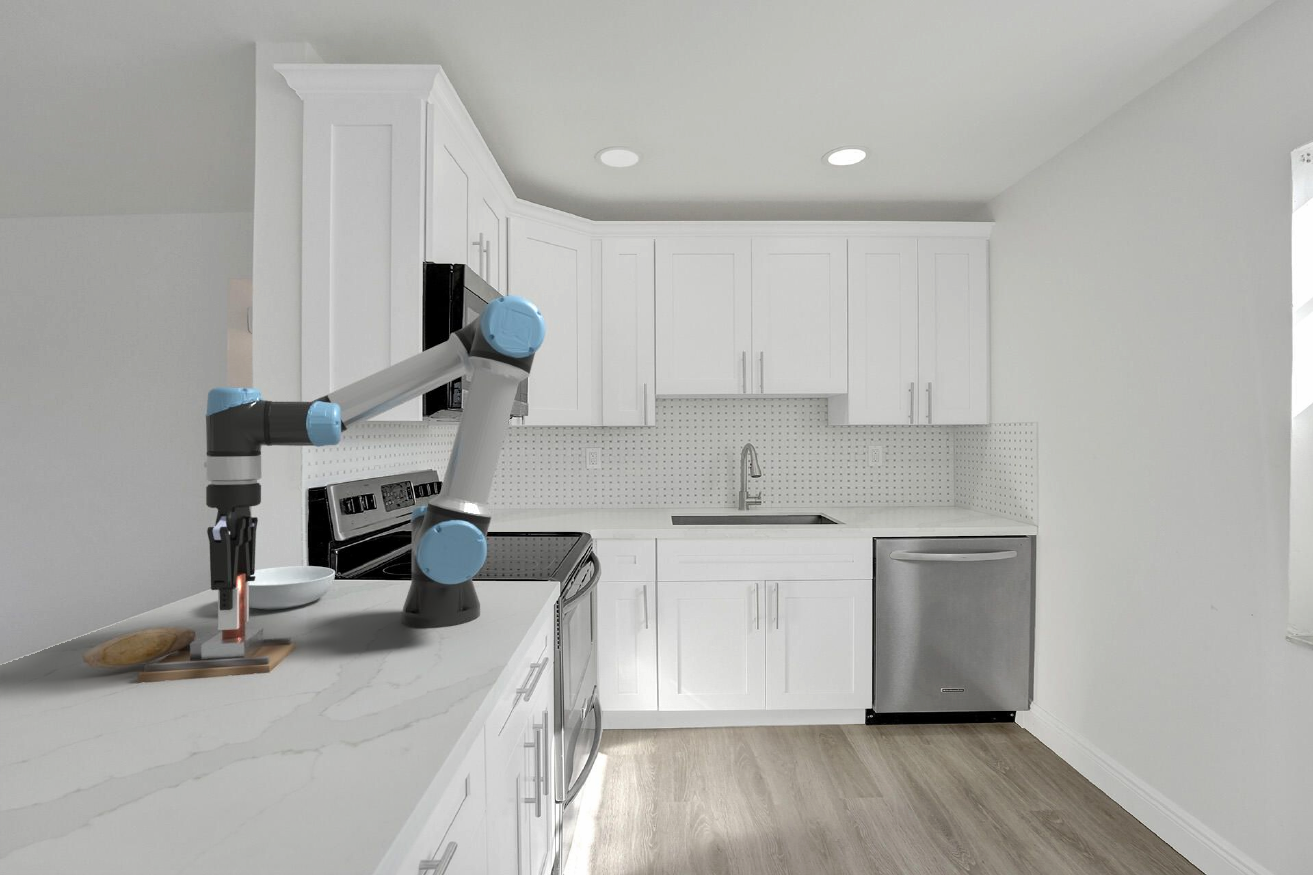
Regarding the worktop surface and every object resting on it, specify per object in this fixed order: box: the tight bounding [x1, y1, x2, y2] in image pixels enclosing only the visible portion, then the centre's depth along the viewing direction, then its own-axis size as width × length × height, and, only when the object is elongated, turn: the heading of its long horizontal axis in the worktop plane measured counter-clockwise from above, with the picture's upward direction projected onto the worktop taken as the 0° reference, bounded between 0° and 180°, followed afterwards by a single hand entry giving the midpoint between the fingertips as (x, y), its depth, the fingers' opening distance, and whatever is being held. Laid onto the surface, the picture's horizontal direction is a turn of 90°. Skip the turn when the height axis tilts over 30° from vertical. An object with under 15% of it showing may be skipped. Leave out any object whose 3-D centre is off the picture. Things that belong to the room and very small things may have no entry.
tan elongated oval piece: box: [81, 626, 197, 669], centre depth 104 cm, size 5×14×4 cm
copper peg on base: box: [190, 573, 264, 661], centre depth 105 cm, size 8×8×13 cm
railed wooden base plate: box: [137, 637, 296, 684], centre depth 105 cm, size 18×12×2 cm, turn 102°
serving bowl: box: [247, 565, 336, 611], centre depth 143 cm, size 21×21×7 cm
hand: (233, 625), depth 106 cm, fingers closed on copper peg on base, 3 cm apart
